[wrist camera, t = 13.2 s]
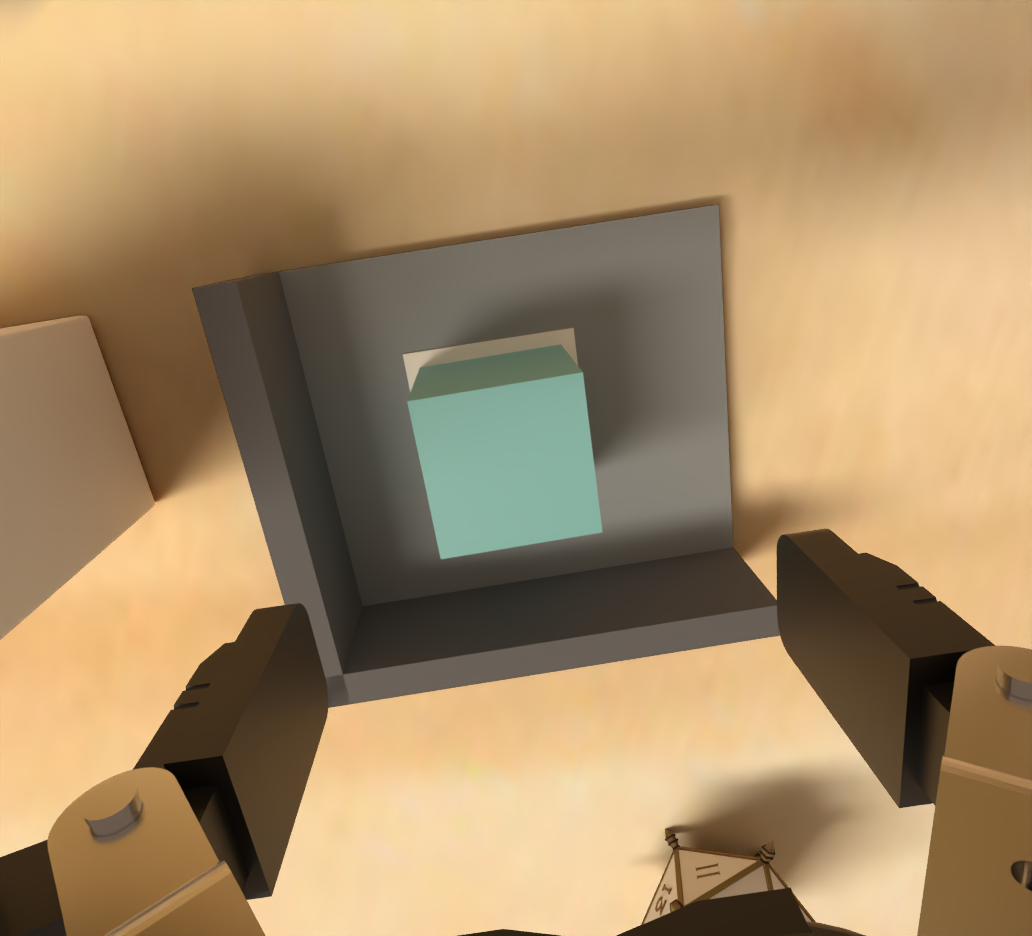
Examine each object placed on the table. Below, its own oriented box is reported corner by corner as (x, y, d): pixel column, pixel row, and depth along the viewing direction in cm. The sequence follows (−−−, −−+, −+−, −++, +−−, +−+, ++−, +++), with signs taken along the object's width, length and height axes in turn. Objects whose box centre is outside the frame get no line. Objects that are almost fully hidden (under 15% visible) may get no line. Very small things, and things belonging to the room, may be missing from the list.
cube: (561, 344, 24) (582, 372, 19) (578, 476, 26) (602, 532, 21) (419, 367, 24) (406, 401, 19) (446, 498, 26) (440, 559, 21)
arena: (712, 204, 24) (773, 198, 19) (728, 567, 28) (780, 635, 23) (248, 276, 23) (191, 288, 19) (342, 628, 28) (315, 709, 23)
